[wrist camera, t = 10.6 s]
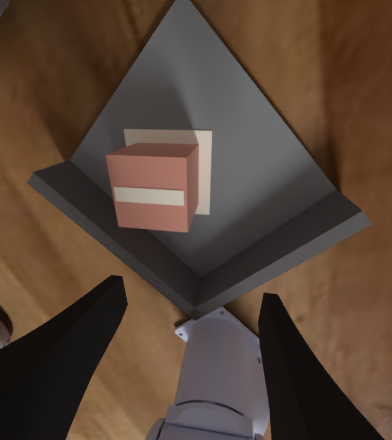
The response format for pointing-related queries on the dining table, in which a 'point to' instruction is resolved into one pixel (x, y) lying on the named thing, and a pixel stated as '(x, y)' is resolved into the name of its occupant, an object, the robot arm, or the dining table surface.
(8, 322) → the flowerpot
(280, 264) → the tray
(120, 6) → the dining table surface
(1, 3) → the stone block
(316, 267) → the dining table surface
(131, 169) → the red cube
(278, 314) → the robot arm
